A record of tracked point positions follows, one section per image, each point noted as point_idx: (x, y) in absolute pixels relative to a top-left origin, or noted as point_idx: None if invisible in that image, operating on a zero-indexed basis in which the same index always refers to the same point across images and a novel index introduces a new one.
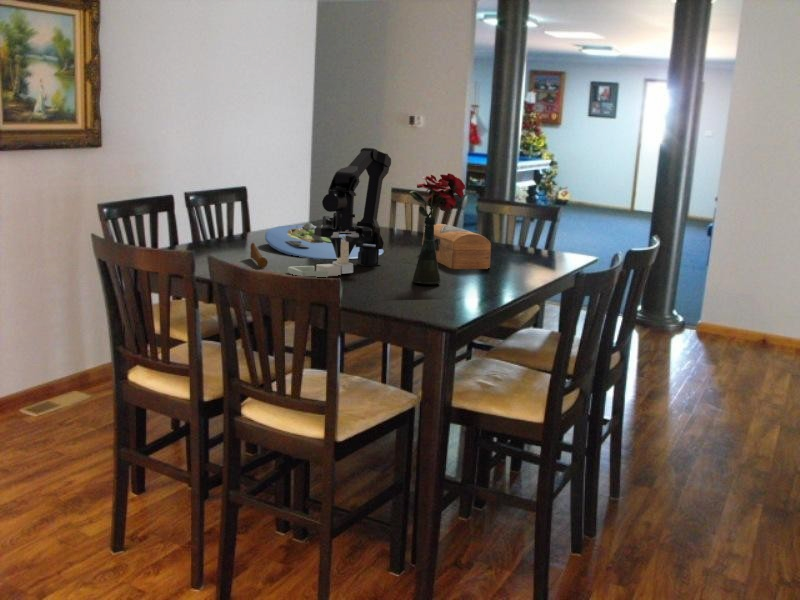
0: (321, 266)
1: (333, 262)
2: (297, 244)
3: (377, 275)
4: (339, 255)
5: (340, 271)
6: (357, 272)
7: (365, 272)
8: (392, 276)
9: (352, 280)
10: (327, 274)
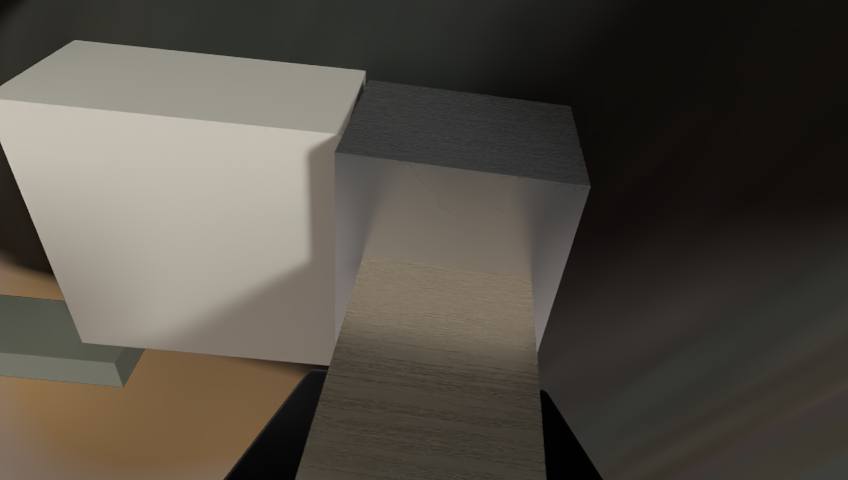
0: (55, 270)
1: (337, 181)
2: None
3: (757, 387)
4: None
5: None
6: (729, 186)
7: (832, 218)
8: (837, 450)
9: None
10: (137, 356)
